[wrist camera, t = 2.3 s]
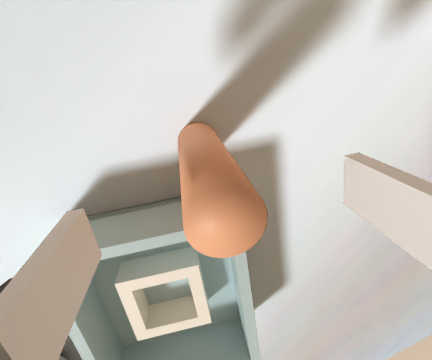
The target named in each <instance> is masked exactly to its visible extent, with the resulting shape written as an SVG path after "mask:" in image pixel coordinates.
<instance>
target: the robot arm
mask: <svg viewBox="0 0 432 360" xmlns="http://www.w3.org/2000/svg"><path fill="white" fill-rule="evenodd" d="M343 203H344V204H345V205H346V206H348V207H349V208H350V209H352V210H353V211H354V212H356V213H357V214H358V215H359V216H361V217H362V218H363V219H365V220H366V221H367V222H369V223H370V224H371V225H373V226H374V227H375V228H377V229H378V230H379V231H381V232H382V233H383V234H385V235H386V236H387V237H388V238H390V239H391V240H392V241H394V242H395V243H396V244H398V245H399V246H400V247H402V248H403V249H404V250H406V251H407V252H408V253H410V254H411V255H412V256H414V257H415V258H416V259H417V260H419V261H420V262H421V263H423V264H424V265H425V266H427V267H428V268H429V269H431V270H432V183H430V182H428V181H425V180H423V179H421V178H418V177H416V176H413V175H411V174H409V173H406V172H404V171H401V170H399V169H397V168H394V167H392V166H389V165H387V164H385V163H382V162H380V161H377V160H375V159H373V158H370V157H368V156H365V155H363V154H361V153H355V154H350V155H345V162H344V195H343ZM101 256H102V253H101V251H100V248H99V246H98V243H97V241H96V238H95V236H94V233H93V231H92V228H91V226H90V223H89V221H88V218H87V216H86V213H85V211H84V208H82V209H77V210H72V211H67V212H66V213H65V215H64V216H63V217H62V218H61V220H60V221H59V222H58V223H57V225H56V226H55V227H54V228H53V229H52V231H51V232H50V233H49V234H48V236H47V237H46V238H45V239H44V240H43V242H42V243H41V244H40V245H39V247H38V248H37V249H36V250H35V252H34V253H33V254H32V255H31V256H30V258H29V259H28V260H27V261H26V263H25V264H24V265H23V266H22V268H21V269H20V270H19V271H18V272H17V274H16V275H15V276H14V277H13V278H11V279H9V280H8V281H6V282H5V283H4V284H2V285H1V286H0V360H58V359H59V357H60V354H61V352H62V350H63V347H64V345H65V342H66V340H67V338H68V335H69V333H70V330H71V328H72V326H73V323H74V321H75V318H76V316H77V314H78V311H79V309H80V307H81V304H82V302H83V299H84V297H85V295H86V292H87V290H88V287H89V285H90V283H91V280H92V278H93V275H94V273H95V271H96V268H97V266H98V264H99V261H100V259H101Z"/></svg>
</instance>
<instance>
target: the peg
mask: <svg viewBox="0 0 432 360" xmlns="http://www.w3.org/2000/svg"><path fill="white" fill-rule="evenodd" d="M178 153H179V169H180V184H181V200H182V216H183V229H184V234H185V237H186V239H187V241H188V242H189V244H190V245H191V246H192V247H193V248H194V249H195V250H197V251H198V252H200V253H201V254H204V255H206V256H209V257H214V258H228V257H233V256H237V255H239V254H242V253H244V252H245V251H247V250H249V249H250V248H251V247H253V246H254V245H255V244H256V243H257V242H258V241H259V239H260V238H261V237H262V235H263V233H264V231H265V228H266V225H267V209H266V206H265V204H264V202H263V200H262V198H261V197H260V196H259V194H258V193H257V191H256V190H255V188H254V187H253V186H252V184H251V183H250V181H249V180H248V178H247V177H246V176H245V174H244V173H243V171H242V170H241V168H240V167H239V166H238V164H237V163H236V161H235V160H234V158H233V157H232V156H231V154H230V153H229V151H228V150H227V148H226V147H225V146H224V144H223V143H222V141H221V140H220V138H219V137H218V136H217V134H216V133H215V131H214V130H213V129H212V128H211V127H210V126H209V125H207V124H205V123H200V122H196V123H191V124H189V125H187V126H186V127H184V128H183V130H182V131H181V132H180V134H179V137H178Z"/></svg>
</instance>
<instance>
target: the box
mask: <svg viewBox="0 0 432 360" xmlns="http://www.w3.org/2000/svg"><path fill="white" fill-rule="evenodd" d="M87 218H88V221H89V223H90V226H91V228H92V231H93V233H94V236H95V238H96V241H97V243H98V246H99V248H100V251H101V253H102V256H101V259H100V261H99V264H98V266H97V268H96V271H95V273H94V275H93V278H92V280H91V283H90V285H89V287H88V290H87V292H86V295H85V297H84V299H83V302H82V304H81V307H80V309H79V311H78V314H77V316H76V318H75V321H74V323H73V326H72V328H71V330H70V333H69V336H70V338H71V340H72V342H73V344H74V345H75V347H76V349H77V351H78V353H79V354H80V356H81V358H82V360H261V358H260V350H259V343H258V336H257V328H256V321H255V314H254V307H253V299H252V292H251V285H250V277H249V270H248V263H247V256H246V251H245V252H244V253H242V254H239V255H237V256H233V257H228V258H214V257H209V256H206V255H204V254H201V253H200V252H198V251H197V250H195V249H194V248H193V247H192V246H191V245H190V244H189V242H188V241H187V239H186V237H185V234H184V229H183V216H182V200H181V197H178V198H173V199H169V200H164V201H159V202H154V203H149V204H144V205H140V206H135V207H130V208H125V209H120V210H115V211H111V212H106V213H101V214H96V215H91V216H87Z"/></svg>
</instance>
